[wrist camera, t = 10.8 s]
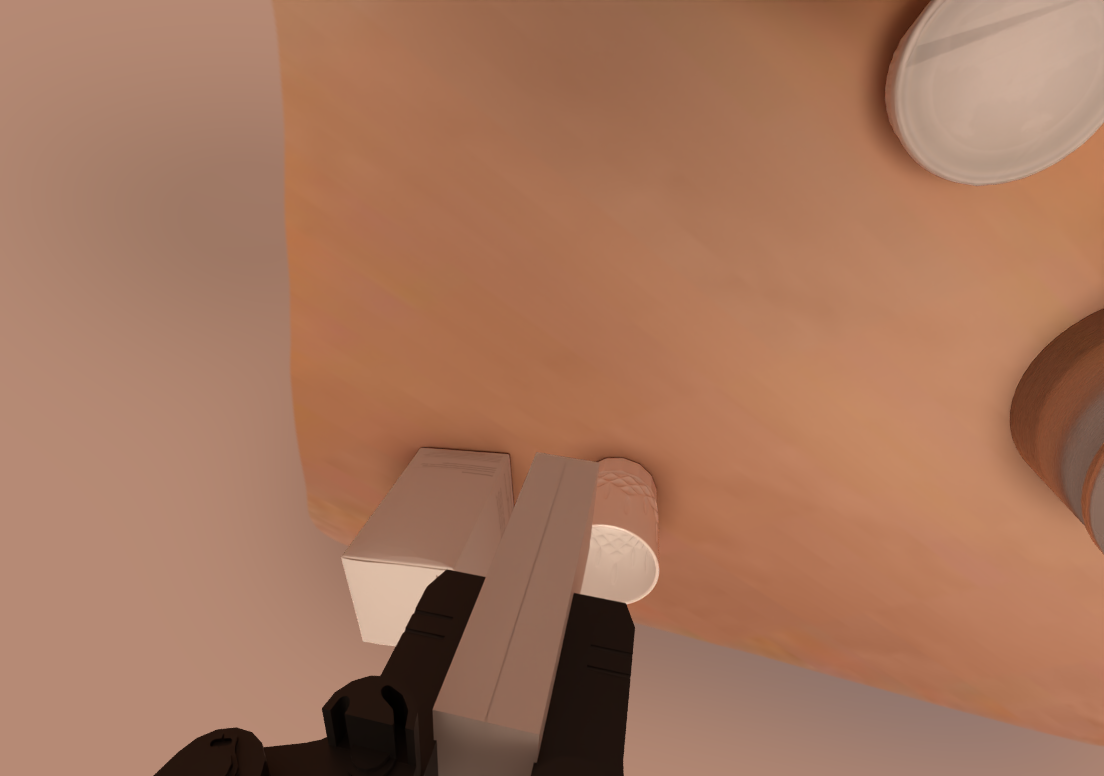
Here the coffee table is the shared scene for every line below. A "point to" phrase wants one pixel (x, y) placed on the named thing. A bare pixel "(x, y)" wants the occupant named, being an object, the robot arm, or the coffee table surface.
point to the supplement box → (427, 535)
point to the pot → (1063, 410)
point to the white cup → (623, 534)
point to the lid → (1094, 500)
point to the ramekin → (997, 86)
